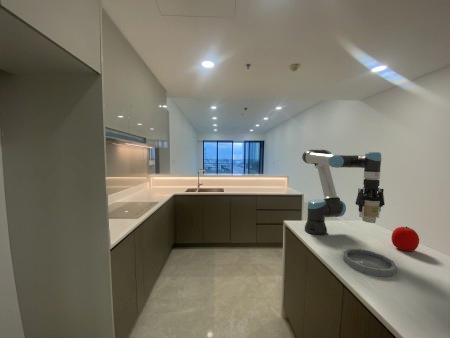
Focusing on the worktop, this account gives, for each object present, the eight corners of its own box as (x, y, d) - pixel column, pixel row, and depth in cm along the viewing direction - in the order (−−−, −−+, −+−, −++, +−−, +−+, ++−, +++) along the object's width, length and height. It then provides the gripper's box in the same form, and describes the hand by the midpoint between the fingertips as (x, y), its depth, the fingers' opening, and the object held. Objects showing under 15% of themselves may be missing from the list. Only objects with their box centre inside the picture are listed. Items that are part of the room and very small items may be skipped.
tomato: (394, 251, 116) (395, 227, 115) (388, 243, 126) (389, 221, 125) (422, 256, 111) (424, 231, 110) (414, 247, 121) (415, 225, 120)
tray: (335, 254, 112) (335, 249, 111) (371, 253, 113) (371, 248, 113) (363, 277, 90) (364, 270, 90) (408, 276, 92) (408, 269, 91)
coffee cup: (383, 224, 111) (385, 198, 110) (363, 223, 113) (365, 197, 112) (373, 219, 120) (375, 194, 119) (355, 217, 122) (357, 193, 121)
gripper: (358, 179, 110) (356, 219, 112) (395, 179, 112) (392, 219, 113) (349, 178, 118) (347, 215, 119) (383, 178, 119) (381, 215, 121)
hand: (369, 217), depth 116 cm, fingers closed on coffee cup, 9 cm apart
